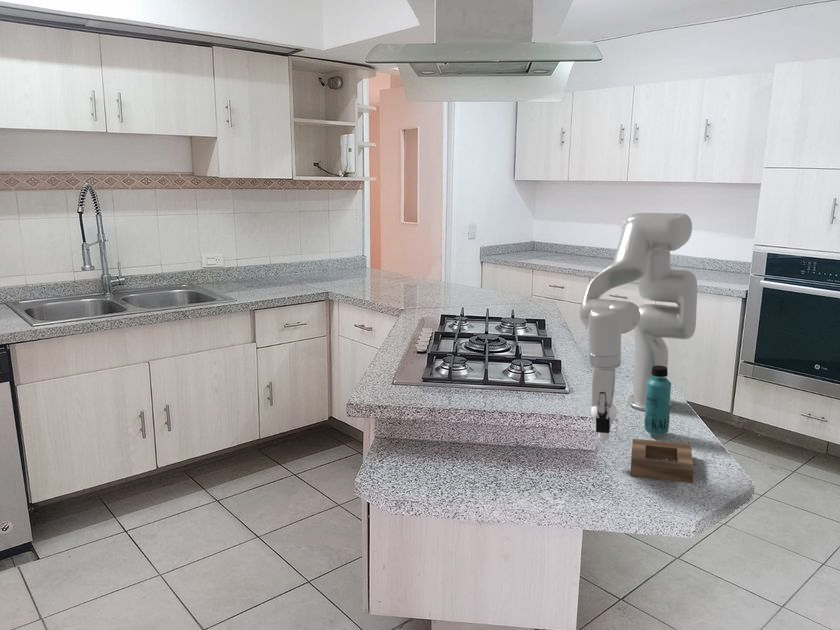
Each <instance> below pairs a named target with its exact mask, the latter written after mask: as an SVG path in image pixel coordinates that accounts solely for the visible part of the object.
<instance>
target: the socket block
mask: <svg viewBox="0 0 840 630" xmlns="http://www.w3.org/2000/svg"><path fill="white" fill-rule="evenodd" d="M631 443H632V444H631V445H632V446H631V458H630V477H632V478H641V479H650V480H660V481H666V480H669V481H668V482H675V481H677V483H683V482H685V484H692V483H694V463H693V455H692V445H691V443H684V442H673V441H663V440H662V441H661V440H650V439H644V438H643V439H642V438H632V442H631ZM663 459H664V460H663ZM666 459H667V460H666ZM672 460H675V461H672Z"/></svg>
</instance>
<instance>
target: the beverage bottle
mask: <svg viewBox="0 0 840 630" xmlns="http://www.w3.org/2000/svg"><path fill="white" fill-rule="evenodd" d="M651 374H652V375H653V376H655V377H652V378H650V379H649V380H648V381H647V393H646V404H645V406H646V408H645V409H646V410H645V411H644V412H645V413H644V418H643V419H644V423H643V424H644V426H643V427H644V430H645V432H647V433H648V434H651V435H654V436H657V435H658V436H660V435H661V436H662V435H666V434H668V432H669V430H670V428H669V427H670V419H671V417H670V415H671V407H672V405H671V406H670V400H671V394H672V393H671V391H672V382H671V381H670V380H669V379H668V378H667V379H666V378H664V377H665V376H667V377H668V375H669V373H668V370H667V367H665V366H660V365H657V366H653V367H652V372H651Z"/></svg>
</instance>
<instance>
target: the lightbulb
mask: <svg viewBox="0 0 840 630" xmlns="http://www.w3.org/2000/svg"><path fill="white" fill-rule="evenodd" d="M599 405H600V403H599ZM605 406H607V403H605ZM606 410H607V409H606V408H605V411H606ZM617 411H618V410H617V407H616V405H615V404H614V403H613V402H612V406H611V407H610V408H609V418H610V429H611V427H612V424H613V422H614V421H615V419H616V418H617V413H618V412H617ZM590 413H591V417H592V419H593V418H594V419H593V420H594V422H595V423H596V417H597V405H596V406H594V407H592V406H591V409H590ZM597 434H598V435H597V436H598V439H599V440H601V441H602V442H606V441H607V440H609V439H610V432H609V433H599V432H597Z"/></svg>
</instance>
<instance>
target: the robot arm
mask: <svg viewBox="0 0 840 630" xmlns="http://www.w3.org/2000/svg"><path fill="white" fill-rule="evenodd" d="M622 229H623V230H622V231H621V235H620V238H619V242H618V245H617V249H616V252H615V255H614V259H613V261H612V264H609V266H607V267H605V268H603V270H601V271H600V272H599V273H598V274H596V275H595V276H594V277H593V278H592V279H591V281H590V282H589V283H588V285H587V286H586V289H585V292H584V295H583V298H582V301H581V305H580V307H579V308H580V309H579V320H580V322H581V324H582V325H583V326H585V327H587V328H588V358H587V359H588V361H587V362H588V364H587V365H588V367H590V368H592V370H591V396H590V399H591V401H590V405H591V408H592V407H594V406H596V405H597V417H596V422H595V426H596V427H595V432H597V433H598V432H599V433H609V434H610V433H611V428H610V418H609V408H610V407H611V406H612V403H613V401H614V395H615V387H616V369H619V368H620V367H621V363H622V361H621V360H622V359H621V357H622V350H621V348H622V335H623V334H626V333H629V332H631V331H632V330H633V333H634V362H633V363H634V365H633V366H634V369H633V370H634V371H633V394H632V395H630V396H628V400H627V404H628V405H629V404H630V405H631V406H630V405H629V406H630V407H632V408H633V409H636V410H639V411H643V412H645V410H646V409H645V408H646V406H645V404H646V393H647V381H648V380H649V379H650V378H652V377H655V376H653V375H652V374H651V372H652V367H653V366H657V365H660V366H665V367H667V371H668V370H669V369H668V368H669V367H668V365H669V349H668V345H667V344H666V342H665V340H664V339H663V338H665V339H674V340H689V339H691V338H692V337H694V334H695V331H696V327H697V309H698V308H697V304H698V280H697V277H696V275H695V274H694V273H693V272H692V271H690V270H685V269H672V268H671V252H673V251H676V250H679V249H680V248H682V247H683V246H684V245H685V244H687V243H688V242H689V240H690V239H691V236H692V232H693V221H692V219H691V217H690V216H689V215H688V214H686V213H676V212H675V213H673V212H639V213H634V214H631V215H629V216H628V217H627V218H626V221H625V224H624V226H623V228H622ZM634 281H638V293H639V295H640V297H641V299H643V300H646V301H650V302H652V301H654V302H661V303H663V302H664V303H673V304H676V305H677V306H676V305H666V304H655V303H643V304H640V305H639V306H638V305H637V304H636V303H633V302H631V301H625V300H616V299H608V298H607V299H605V298H601V297H602V296H603V295H604V294H605V293H607V292H608V291H610V290H612V289H614V288H617V287H620V286H622V285H623V286H624V285H626V284H628V283H633V282H634ZM664 378H666V379H668V375H667V376H665V377H664ZM599 403H600V405H599ZM605 403H607V406H605ZM670 406H671V407H672V400H671V399H670ZM605 408H606V409H607V410H606V411H605Z"/></svg>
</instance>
